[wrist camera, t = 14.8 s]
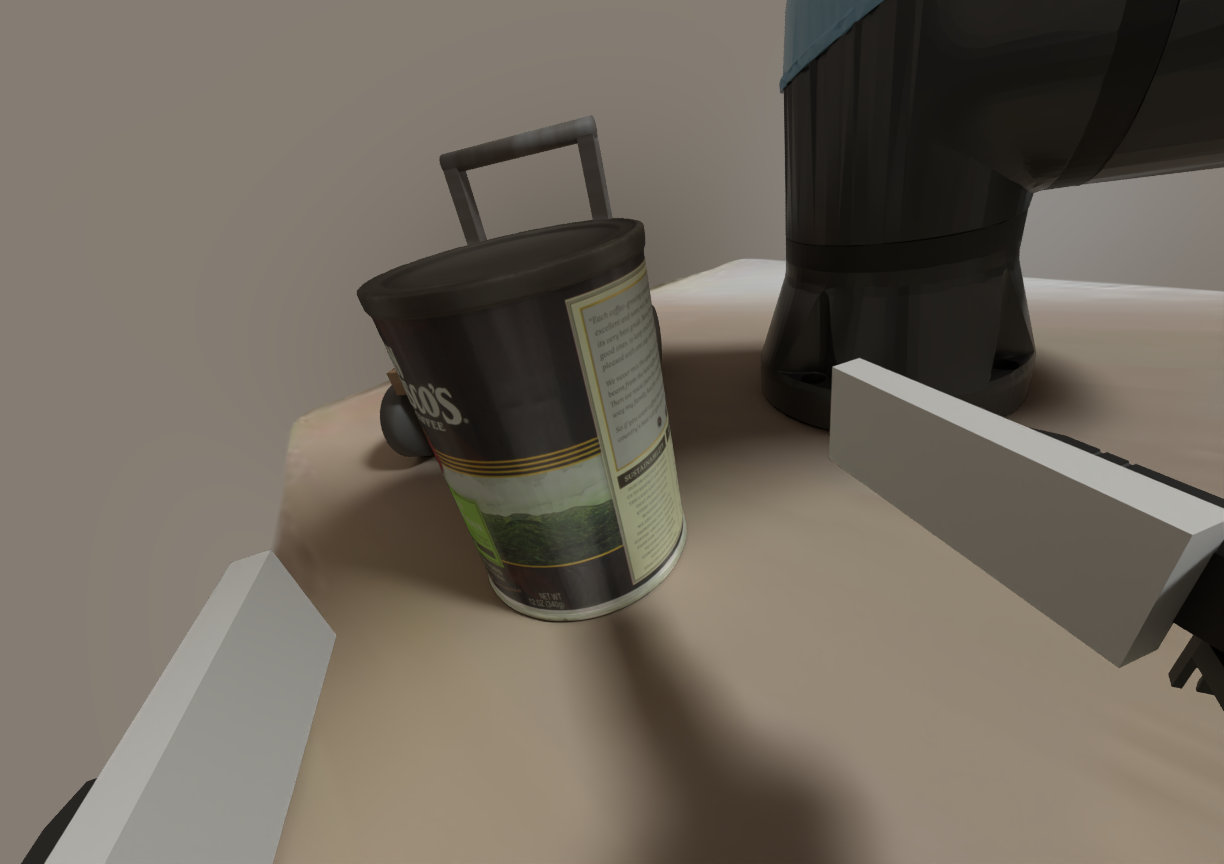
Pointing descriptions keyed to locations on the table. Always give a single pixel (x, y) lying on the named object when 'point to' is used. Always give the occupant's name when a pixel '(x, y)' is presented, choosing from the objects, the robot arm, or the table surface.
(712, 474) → the table surface
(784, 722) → the table surface
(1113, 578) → the robot arm
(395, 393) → the trolley
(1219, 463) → the table surface
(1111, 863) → the table surface
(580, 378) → the coffee can
